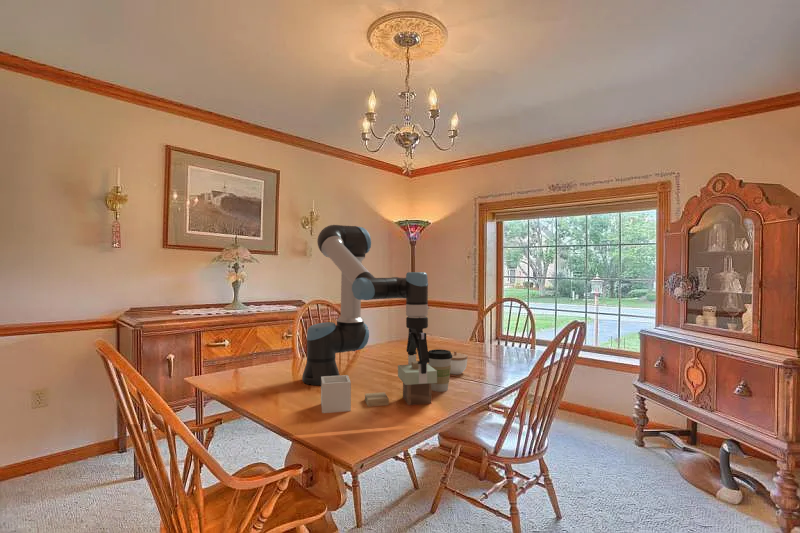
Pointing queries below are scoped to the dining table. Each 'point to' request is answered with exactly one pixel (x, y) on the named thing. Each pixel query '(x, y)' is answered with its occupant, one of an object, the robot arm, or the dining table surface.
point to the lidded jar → (458, 363)
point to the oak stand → (376, 399)
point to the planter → (335, 394)
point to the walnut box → (417, 393)
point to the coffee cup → (440, 368)
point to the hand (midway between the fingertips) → (417, 378)
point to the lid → (415, 374)
